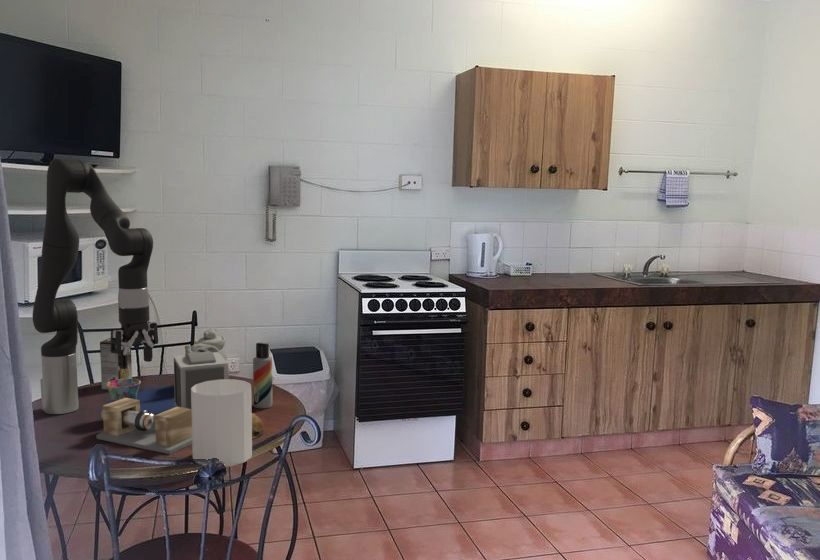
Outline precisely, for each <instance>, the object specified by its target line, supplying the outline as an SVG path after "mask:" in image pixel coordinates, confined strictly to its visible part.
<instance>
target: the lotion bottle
mask: <svg viewBox="0 0 820 560" xmlns="http://www.w3.org/2000/svg"><path fill="white" fill-rule="evenodd" d="M269 351H270V344H269V343H266V342H256V344H255V357H253V359H252V371H253V372H252V378H253V383H252V385H253V390H252V391H253V407H254V408H257V409H269V408H271V407H272V406H273V358H272V357H271V356H270V352H269Z"/></svg>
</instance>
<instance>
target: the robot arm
mask: <svg viewBox="0 0 820 560" xmlns="http://www.w3.org/2000/svg"><path fill="white" fill-rule="evenodd" d="M48 164H49V165H48V167H47V170H46V209H45V210H46V212H45V220H44V221H45V223H44V232H43V238H42V247H41V262H40V268H39V269H40V270H39V279H38V285H37V290H36V293H35V297H34V298H35V299H34V302H33V308H32V324H33V327H34V329H35V330H36V331H37V332H38V333H40V334H47V333H49V334H50V333H55V332H56V333H55V335H54V336H53V337H52V338H51V339H49V340H48V341H46V342H44V343H43V344H42V345H41V347H40V357H41V372H42V373H41V374H42V378H41V379H40V395H41V396H40V398H41V411H43V412H44V413H45V414H47V415H62V414H69V413H72V412H75V411H78V409H79V388H78V387H79V386H78V366H77V365H78V364H77V344H78V340H79V339H78V328H79V327H78V325H79V323H78V320H79V319H78V317H79V316H78V310H77V306H76V304H75V303H74V301H72V300H71V299H70V298H59V299H56V298H57V294H58V291H59V288H60V286H61V285H62V283H63V282H64V281H65V280H66V278H67V277H68V275H70V273H71V272H72V270H73V269H74V267H75V265H76V263H77V260H78V256H79V250H80V249H79V248H80V236H79V233H78V231H77V229H76V227H75V225H74V223H73V222H72V220H71V218H70V216H69V214H68V211H67V208H66V207H67V206H66V197H67V193H68V194H69V193H71V194H72V193H75V194H76V193H84V194H85V195H86V196H88V197H89V198H90V205H89V213H90V215H91V217H92V219H93V221H94V222H95V223H96V224H97V225H98V226H99V228H100V229H101V230H102V231H103V233H104V235H105V238H106V240H107V244H108V245H109V249H110V250H111V252H113V254H115V255H117V256H120V257H129V256H130V257H131V256H132V258H131V260H130V262H128V263H127V264H123V265H120V266H119V268H118V272H117V275H118V277H117V278H118V291H117V292H118V294H117V302H118V305H117V307H118V322H119V324H120V325H121V326H120V329H119V330H118V329H117V330H116V329H112V330H111V331H110V338H111V353H114V354H117V355H118V366H119V367H120V369H127V368H128V362H127V355H126V354H127V352H128V350H129V348H130V347H131V348H132V346H133V345H134V344H137V343H141V345H142V346H143V347H142V348H143V361H144V362H148V363H149V362H152V361H153V348H154V346H155V345H158V343H159V333H158V323H157V322H155V321H154V322H152V321H150V297H149V296H150V294H149V288H148V287H149V286H148V269H149V266H150V261H151V256H152V253H153V250H154V238H153V236H152V234H151V232H150V231H149V230H148V229H146V228H143V227H135V228H134V227H132V228H131V227H130V226H131V221H130V219H129V217H128V216H127V215H126V214H125V212H124V211H123V210H122V209H121V208H120V207H119V206H118V204H117V203H115V201H114V200H113V198H112V197H111V195H110V194H109V193H108V191H107V189H106V187H105V185H104V183H103V182H102V180H101V178H100V176H99V175H98V173H97V172H96V170H95V168H94V167H93V166H92V164H91V163H89V161H86V160H83V159H77V158H76V159H75V158H53V159H51V161H50V163H48ZM125 341H126V342H127V343H124V342H125ZM123 347H124V349H123ZM122 349H123V350H122Z"/></svg>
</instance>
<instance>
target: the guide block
mask: <svg viewBox="0 0 820 560" xmlns="http://www.w3.org/2000/svg"><path fill="white" fill-rule="evenodd" d="M126 409H127V410H132V411H137V412H140V411H141V401H140V399H137V400H136V399H131V398H124V399H121V400H118V401H115V402H110V403H109V402H108V403H106V404H104V405H102V410H103V419H102V421H103V432H104V433H106V434H111V435H116V436H119V435H122V434H124V433H127V432H129V431H132V430H134V429H136V427H134V426H129V425H124V424H122V420H121V411H123V410H126Z"/></svg>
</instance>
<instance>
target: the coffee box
mask: <svg viewBox="0 0 820 560" xmlns="http://www.w3.org/2000/svg"><path fill="white" fill-rule="evenodd" d="M124 343H127V342H126V341H125V342H124ZM123 349H124V347H123ZM123 349H122V350H123ZM99 352H100V353H99V355H100V356H99V357H100V376H101V377H100V379H101V390H105V391H109V390H108V388H107V387H106V383H108V382H110V381H113V380H117V379H126V378H131V379H133V365H132V362H133V361H132V346H131V347H130V348H129V350H128V352H127V354H126V355H127V362H128V368H127V369H120V367H119V366H118V355H117V354H114V353H111V337H108V338H107V339H103V340H102V341H100V342H99Z"/></svg>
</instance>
